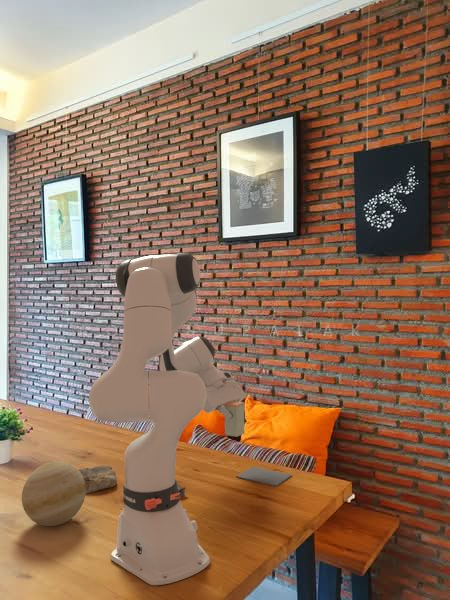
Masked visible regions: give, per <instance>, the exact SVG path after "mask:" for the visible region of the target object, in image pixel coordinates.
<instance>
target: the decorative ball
mask: <svg viewBox="0 0 450 600" xmlns="http://www.w3.org/2000/svg"><path fill="white" fill-rule="evenodd" d="M79 470H80V469H78V468H77V467H76V466H75V465H73V464H71V463H69V462H66V461H59V460H54V461H49V462H46V463H43V464H42V465H40V466H38V467H36V468H35V470H33V471H32V472H31V473H30V475H29V476H28V477H27V478H26V480H25V482H24V485H23V488H22V490H21V491H22V492H21V505H22V508H23V510H24V512H25V514H26V516H27V517H28V518H29V519H30V520H32V522H34V523H36V524H37V525H40V526H44V527H56V526H60V525H63V524H65V523H67V522H68V521H70V520H71V519H73V518H74V517H75V516H76V515H77V513H78V512H79V511H80V509H81V508H82V506H83V505H84V504H83V503H84V501H85V498H86V495H87V494H86V486H85V481H84V478H83V476H82V474H81V473H80V471H79Z"/></svg>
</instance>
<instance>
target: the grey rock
mask: <svg viewBox="0 0 450 600" xmlns="http://www.w3.org/2000/svg"><path fill="white" fill-rule="evenodd" d="M78 470H79V471H80V473H81V474H82V476H83V478H84V481H85V486H86V493H87V494H90V493H89V492H91V493H96V491H101V490H105V488H106V489H109V488H113V487H115V486H116V485H117V484H118V478H117V475H116V474H117V473H116V471H115V470H114V469H113V467H112V466H110V465H100V466H99V465H98V466H94V467H92V468H82V469H81V468H80V469H78Z"/></svg>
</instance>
